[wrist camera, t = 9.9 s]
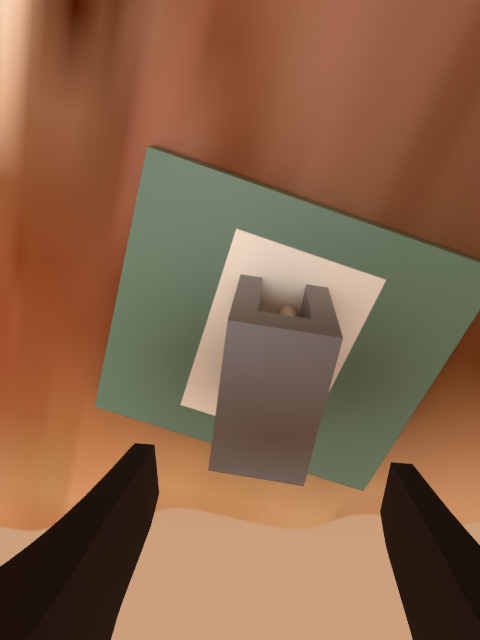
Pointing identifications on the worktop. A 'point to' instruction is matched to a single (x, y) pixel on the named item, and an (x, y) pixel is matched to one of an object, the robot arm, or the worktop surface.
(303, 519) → the worktop surface
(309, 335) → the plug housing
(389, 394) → the board
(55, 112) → the worktop surface
